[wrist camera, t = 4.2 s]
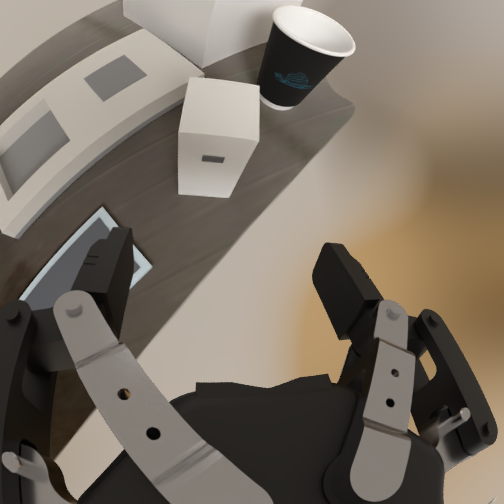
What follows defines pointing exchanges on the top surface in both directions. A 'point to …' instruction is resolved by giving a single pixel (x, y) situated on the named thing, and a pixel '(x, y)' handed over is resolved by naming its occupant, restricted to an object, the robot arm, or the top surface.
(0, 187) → the outlet strip
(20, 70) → the top surface
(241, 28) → the milk carton
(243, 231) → the top surface
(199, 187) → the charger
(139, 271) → the phone
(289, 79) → the dixie cup
